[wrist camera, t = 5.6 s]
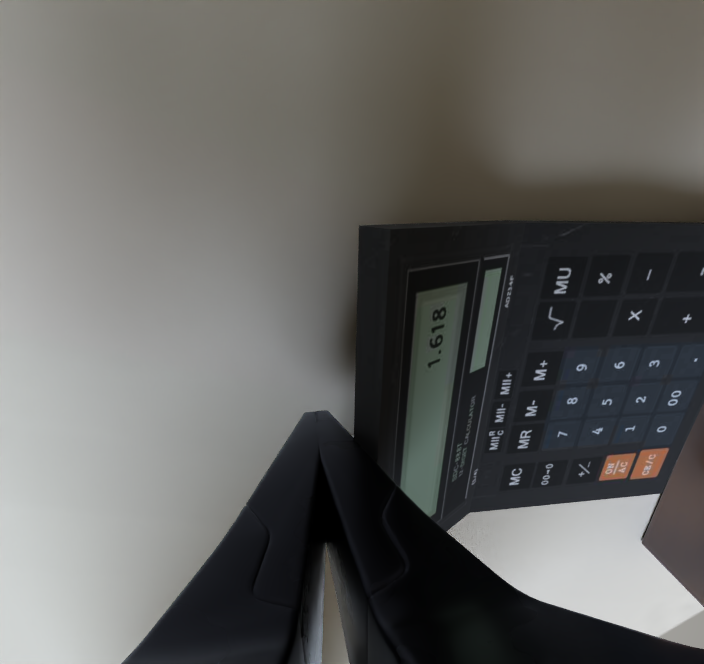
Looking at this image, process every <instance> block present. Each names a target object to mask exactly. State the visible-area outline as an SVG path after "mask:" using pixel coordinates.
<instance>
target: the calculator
mask: <svg viewBox="0 0 704 664" xmlns="http://www.w3.org/2000/svg"><path fill="white" fill-rule="evenodd" d="M703 403H704V223H679V222H594V221H510V220H505V221H477V222H448V223H419V224H390V225H362V226H359V253H358V294H357V334H356V375H355V416H354V439H355V440H356V441H357V442H358V443H359V445H360V446H361V447H362V448H363V449H364V450H365V451H366V452H367V453H368V454H369V455H370V456H371V457H372V458H373V459H374V461H375V462H376V463H377V464H378V465H379V466H380V467H381V468H382V469H383V470H384V471H385V472H386V473H387V474H388V475H389V477H390V478H391V479H392V480H393V481H394V482H395V483H396V484H397V486H399V487H400V488H401V489H402V490H403V491H404V492H405V494H406V495H407V496H408V497H409V498H410V499H411V500H412V501H413V502H414V503H415V504H416V505H417V506H418V507H419V508H420V509H421V510H422V511H423V512H424V513H425V514H427V515H428V516H429V517H430V518H431V519H432V520H433V521H434V522H436V523H437V524H438V525H439V526H440V527H441V528H442V529H443V530H445V531H448V530H449V529H450V528H451V527H452V526H454V525H455V524H456V523H457V522H458V521H460V520H461V519H462V518H463V517H465V516H466V515H467V514H468V513H470V512H480V511H490V510H500V509H510V508H520V507H530V506H540V505H550V504H560V503H570V502H580V501H590V500H600V499H610V498H620V497H630V496H640V495H650V494H660V493H662V492H663V489H664V487H665V485H666V483H667V481H668V479H669V477H670V474H671V472H672V470H673V468H674V466H675V464H676V461H677V459H678V457H679V455H680V453H681V451H682V448H683V446H684V444H685V442H686V440H687V438H688V436H689V433H690V431H691V429H692V427H693V425H694V423H695V420H696V418H697V416H698V414H699V412H700V410H701V407H702V405H703Z"/></svg>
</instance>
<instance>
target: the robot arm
mask: <svg viewBox="0 0 704 664" xmlns="http://www.w3.org/2000/svg"><path fill="white" fill-rule="evenodd" d="M326 545H327V551H328V556H329V561H330V566H331V571H332V576H333V581H334V586H335V591H336V596H337V602H338V607H339V612H340V617H341V622H342V627H343V632H344V637H345V642H346V647H347V653H348V658H349V663H350V664H704V649H700V648H694V647H690V646H686V645H682V644H679V643H675V642H671V641H668V640H665V639H662V638H658V637H655V636H652V635H649V634H645V633H642V632H639V631H636V630H632V629H629V628H626V627H623V626H619V625H616V624H613V623H609V622H606V621H603V620H600V619H596V618H593V617H590V616H587V615H583V614H580V613H577V612H574V611H570V610H567V609H564V608H561V607H557V606H554V605H551V604H548V603H544V602H542V601H539V600H536V599H534V598H532V597H530V596H528V595H526V594H524V593H522V592H521V591H519V590H517V589H516V588H514V587H513V586H511V585H510V584H508V583H507V582H506V581H504V580H503V579H502V578H501V577H499V576H498V575H497V574H496V573H494V572H493V571H492V570H491V569H490V568H488V567H487V566H486V565H485V564H484V563H482V562H481V561H480V560H479V559H478V558H477V557H475V556H474V555H473V554H472V553H471V552H469V551H468V550H467V549H466V548H465V547H464V546H462V545H461V544H460V543H459V542H458V541H456V540H455V539H454V538H453V537H452V536H451V535H449V534H448V533H447V532H446V531H445V530H443V529H442V528H441V527H440V526H439V525H438V524H437V523H436V522H434V521H433V520H432V519H431V518H430V517H429V516H428V515H427V514H425V513H424V512H423V511H422V510H421V509H420V508H419V507H418V506H417V505H416V504H415V503H414V502H413V501H412V500H411V499H410V498H409V497H408V496H407V495H406V494H405V492H404V491H403V490H402V489H401V488H400V487H399V486H397V484H396V483H395V482H394V481H393V480H392V479H391V478H390V477H389V475H388V474H387V473H386V472H385V471H384V470H383V469H382V468H381V467H380V466H379V465H378V464H377V463H376V462H375V461H374V459H373V458H372V457H371V456H370V455H369V454H368V453H367V452H366V451H365V450H364V449H363V448H362V447H361V446H360V445H359V443H358V442H357V441H356V440H355V439H354V438H353V437H352V436H351V435H350V434H349V433H348V432H347V431H346V430H345V428H344V427H343V426H342V425H341V424H340V423H339V422H338V421H337V420H336V419H335V418H334V417H333V416H332V415H331V414H330V412H329V411H327V410H325V411H316V412H306V413H304V414H303V416H302V418H301V419H300V421H299V422H298V424H297V425H296V427H295V428H294V430H293V432H292V433H291V435H290V436H289V438H288V439H287V441H286V443H285V444H284V446H283V447H282V449H281V450H280V452H279V454H278V455H277V457H276V458H275V460H274V461H273V463H272V464H271V466H270V468H269V469H268V471H267V472H266V474H265V475H264V477H263V479H262V480H261V482H260V483H259V485H258V486H257V488H256V489H255V491H254V493H253V494H252V496H251V497H250V499H249V500H248V502H247V504H246V506H245V507H244V508H243V509H242V511H241V513H240V514H239V516H238V517H237V519H236V521H235V522H234V523H233V525H232V526H231V528H230V529H229V531H228V532H227V534H226V535H225V537H224V538H223V540H222V541H221V542H220V544H219V545H218V546H217V548H216V549H215V550H214V552H213V553H212V554H211V555H210V557H209V558H208V559H207V561H206V562H205V563H204V565H203V566H202V567H201V568H200V570H199V571H198V572H197V573H196V575H195V576H194V577H193V578H192V580H191V581H190V582H189V583H188V585H187V586H186V587H185V588H184V590H183V591H182V592H181V593H180V595H179V596H178V597H177V598H176V600H175V601H174V602H173V603H172V605H171V606H170V607H169V608H168V610H167V611H166V612H165V613H164V615H163V616H162V617H161V618H160V620H159V621H158V622H157V623H156V625H155V626H154V627H153V628H152V630H151V631H150V632H149V633H148V635H147V636H146V637H145V638H144V639H143V641H142V642H141V643H140V644H139V645H138V646H137V648H136V649H135V650H134V651H133V652H132V653H131V654H130V655H129V656H128V657H127V658H126V659H125V660H124V661H123V662H122V663H121V664H322V637H323V610H324V582H325V555H326Z"/></svg>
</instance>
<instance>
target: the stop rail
mask: <svg viewBox="0 0 704 664" xmlns="http://www.w3.org/2000/svg"><path fill="white" fill-rule="evenodd" d="M642 544H643V545H644V546H645V547H646V548H647V549H648V550H649V551H650V552H651V553H652V554H653V555H654V556H655V557H656V558H657V559H658V560H659V561H660V563H661V564H662V565H663V566H664V567H665V568H666V569H667V570H668V571H669V572H670V573H671V574H672V575H673V576H674V577H675V578H676V579H677V580H678V581H679V582H680V583H681V584H682V585H683V586H684V587H685V588H686V589H687V590H688V591H689V592H690V593H691V594H692V595H693V596H694V597H695V598H696V599H697V600H698V601H699V603H700V604H701V605H702V606H703V607H704V403H703V405H702V407H701V410H700V412H699V414H698V416H697V418H696V420H695V423H694V425H693V427H692V429H691V431H690V433H689V436H688V438H687V440H686V442H685V444H684V446H683V448H682V451H681V453H680V455H679V457H678V459H677V462H676V464H675V466H674V468H673V471H672V473H671V475H670V478H669V480H668V482H667V485H666V487H665V489H664V491H663V494H662V496H661V498H660V501H659V503H658V505H657V508H656V510H655V512H654V514H653V517H652V519H651V521H650V524H649V526H648V528H647V531H646V533H645V535H644V537H643V540H642Z"/></svg>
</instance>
